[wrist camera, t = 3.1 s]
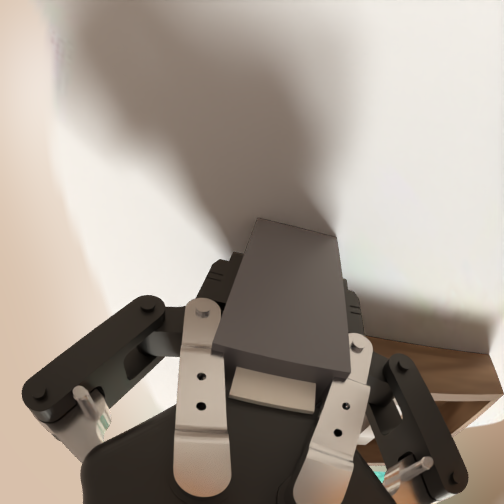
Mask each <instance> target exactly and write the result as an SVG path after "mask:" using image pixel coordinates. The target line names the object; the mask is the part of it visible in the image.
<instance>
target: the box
mask: <svg viewBox="0 0 504 504" xmlns="http://www.w3.org/2000/svg"><path fill="white" fill-rule="evenodd" d="M364 337H366V338H367V339H368V340H369V341H370V342H371V344H372V347H373V351H374V352H376V353H378V354H380V355H382V356H384V357H386V358H388V359H389V358H390V357H391V356H392V355H393V354H397V353H400V354H404V355H406V356H408V357H409V358H410V359H412V361H413V362H414V363H415V365H416V367H417V369H418V371H419V373H420V374H421V376H422V378H423V380H424V382H425V384H426V386H427V387H428V389H429V391H430V393H431V395H432V397H433V399H434V401H435V403H436V405H437V407H438V409H439V411H440V413H441V415H442V417H443V419H444V421H445V423H446V425H447V427H448V429H449V431H450V433H451V435H452V437H454V436H455V435H456V434H458V433H459V432H460V431H462V430H463V429H464V428H466V427H467V426H468V425H469V424H471V423H472V422H473V421H474V420H475V419H477V418H478V417H479V416H480V415H481V414H483V413H484V412H485V411H486V410H487V409H488V408H489V407H491V406H492V405H493V404H494V403H495V402H496V401H497V400H498V399H499V398H500V397H501V396H503V395H504V393H503V390H502V387H501V384H500V381H499V378H498V376H497V373H496V370H495V368H494V365H493V363H492V360H491V358H490V355H488V354H479V353H471V352H463V351H456V350H448V349H442V348H435V347H428V346H422V345H415V344H409V343H403V342H398V341H392V340H386V339H381V338H375V337H370V336H364ZM393 400H394V403H395V405H396V407H397V409H398V411H399V414H400V416H401V418H403V416H402V412H401V410H400V408H399V405H398V403H397V401H396V399H395V398H394V399H393ZM356 449H357V450H358V451H359V453H360V454H361V456H362V457H363V458H364V460H365V461H366V462H367V464H368V465H369V466H385V463H384V460H383V458H382V455H381V452H380V450H379V447H378V444H377V442H376V439H375V437H374V434H373V431H372V429H371V426H370V424H369V421H368V419H367V416H366V414H365V416H364V420H363V424H362V428H361V432H360V435H359V439H358V443H357V446H356Z"/></svg>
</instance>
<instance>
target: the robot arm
mask: <svg viewBox="0 0 504 504" xmlns="http://www.w3.org/2000/svg"><path fill="white" fill-rule="evenodd" d="M243 256H244V254H241V253H237V252H233V253H232V256H231V258H230V260H229V261H226V260H222V259H219V260H218V261H217V262H215V263H214V264H213V265H212V267H211V269H210V271H209V273H208V275H207V277H206V279H205V281H204V283H203V285H202V287H201V289H200V291H199V293H198V295H197V297H196V299H193V300H191V301H189V302H188V303H187V305H186V306H183V307H165V304H164V302H163V301H162V300H161V299H160V298H158V297H156V296H152V295H144V296H140V297H138V298H136V299H135V300H133V301H132V302H130V303H129V304H128V305H126V306H125V307H124V308H122V309H121V310H119V311H118V312H117V313H115V314H114V315H113V316H111V317H110V318H109V319H107V320H106V321H105V322H103V323H102V324H101V325H99V326H98V327H96V328H95V329H94V330H92V331H91V332H90V333H89V334H87V335H86V336H84V337H83V338H82V339H80V340H79V341H78V342H76V343H75V344H74V345H72V346H71V347H70V348H69V349H67V350H66V351H65V352H63V353H62V354H61V355H59V356H58V357H57V358H55V359H54V360H53V361H51V362H50V363H49V364H48V365H46V366H45V367H44V368H42V369H41V370H40V371H39V372H37V373H36V374H35V375H33V376H32V377H31V378H30V379H28V380H27V381H26V383H25V384H24V386H23V388H22V398H23V401H24V403H25V405H26V406H27V407H28V408H29V409H30V411H31V412H32V413H33V415H34V417H35V418H36V419H37V420H38V421H39V422H40V423H41V425H42V426H43V427H44V428H45V429H46V430H47V431H48V432H50V433H51V434H52V435H53V436H54V437H55V438H56V439H57V440H59V441H61V442H62V443H63V444H64V445H65V446H66V447H67V448H68V449H69V450H70V451H71V452H72V454H74V455H75V457H77V459H78V460H79V461H80V462H82V466H81V483H82V489H83V504H436V503H438V502H440V501H443V500H445V499H447V498H450V497H452V496H454V495H456V494H458V493H460V492H462V491H463V490H464V489H465V487H466V486H467V483H468V472H467V469H466V467H465V465H464V462H463V460H462V458H461V455H460V453H459V451H458V449H457V446H456V444H455V442H454V440H453V438H452V435H451V433H450V431H449V429H448V427H447V425H446V423H445V421H444V419H443V417H442V415H441V413H440V411H439V409H438V407H437V405H436V403H435V401H434V399H433V397H432V395H431V393H430V391H429V389H428V387H427V386H426V384H425V382H424V380H423V378H422V376H421V374H420V373H419V371H418V369H417V367H416V365H415V363H414V362H413V361H412V359H410V358H409V357H408V356H406V355H404V354H400V353H397V354H393V355H392V356H391V357H390V358H389V359H388V358H386V357H384V356H382V355H380V354H378V353H376V352H374V351H373V347H372V344H371V342H370V341H369V340H368V339H367V338H366V337H364V330H363V323H362V316H361V309H360V303H359V299H358V297H357V296H356V294H355V293H354V292H353V291H349V290H348V287H347V280H346V279H343V286H344V294H345V303H346V313H347V323H348V334H349V347H350V361H351V374H350V375H349V377H348V378H347V379H344V378H339V377H333V379H332V380H331V382H330V383H329V385H328V386H327V387H326V389H325V390H324V392H323V393H322V395H321V396H320V397H319V399H318V400H317V402H316V403H315V409H314V413H313V414H306V413H300V412H294V411H288V410H283V409H278V408H272V407H268V406H263V405H258V404H253V403H249V402H245V401H240V400H236V399H232V398H228V397H229V393H230V390H227V389H225V375H224V353H223V352H218V351H214V350H211V348H212V342H213V339H214V336H215V334H216V331H217V328H218V325H219V322H220V320H221V317H222V314H223V311H224V309H225V306H226V303H227V300H228V298H229V295H230V292H231V289H232V287H233V284H234V281H235V278H236V276H237V273H238V270H239V267H240V265H241V262H242V259H243ZM165 356H168V357H180V361H179V374H178V388H177V404H175V405H174V406H172V407H170V408H168V409H167V410H165V411H163V412H161V413H160V414H158V415H156V416H154V417H152V418H150V419H148V420H147V421H145V422H143V423H141V424H139V425H137V426H135V427H133V428H131V429H129V430H128V431H125V432H124V433H121V434H119V435H118V436H116V437H113V438H112V439H109V440H107V441H106V442H104V440H103V439H104V434H105V431H106V430H107V429H108V427H109V426H110V424H111V419H112V416H111V412H110V410H109V409H110V408H111V407H112V406H113V405H114V404H115V403H116V402H118V400H120V399H121V398H122V397H123V396H124V395H125V394H126V393H127V392H128V391H129V390H130V389H131V388H133V387H134V385H136V384H137V383H138V382H139V381H140V380H141V379H142V378H143V377H144V376H145V375H146V374H147V373H149V372H150V371H151V370H152V369H153V368H154V367H155V366H156V365H157V364H158V363H159V362H160V361H161V360H162V359H163V358H164V357H165ZM394 398H395V399H396V401H397V403H398V405H399V408H400V410H401V412H402V416H403V418H401V416H400V414H399V411H398V409H397V407H396V405H395V403H394V400H393V399H394ZM365 414H366V416H367V419H368V421H369V424H370V426H371V429H372V431H373V434H374V437H375V439H376V442H377V444H378V447H379V450H380V452H381V455H382V458H383V460H384V463H385V466H386V468H387V471H386V473H385V476H384V481H383V483H381V481H380V480H379V479H378V477H377V476H376V475H375V473H374V472H373V471H372V469H371V468H370V467H369V465H368V464H367V462H366V461H365V460H364V458H363V457H362V456H361V454H360V453H359V451H358V450H357V449H356V446H357V443H358V439H359V435H360V432H361V428H362V424H363V420H364V416H365Z"/></svg>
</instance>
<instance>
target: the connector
mask: <svg viewBox="0 0 504 504" xmlns="http://www.w3.org/2000/svg"><path fill="white" fill-rule="evenodd" d="M211 350H214V351H218V352H223V353H224V375H225V389H227V390H230V393H229V397H228V398H232V399H236V400H240V401H245V402H249V403H253V404H258V405H263V406H268V407H272V408H278V409H283V410H288V411H294V412H300V413H306V414H313V413H314V409H315V403H316V402H317V400H318V399H319V397H320V396H321V395H322V393H323V392H324V390H325V389H326V387H327V386H328V385H329V383H330V382H331V380H332V379H333V377H339V378H344V379H347V378H348V377H349V375H350V374H351V361H350V347H349V334H348V323H347V313H346V303H345V294H344V286H343V278H342V270H341V262H340V255H339V248H338V242H337V237H333V236H329V235H325V234H321V233H318V232H314V231H310V230H306V229H302V228H298V227H294V226H290V225H286V224H282V223H277V222H273V221H269V220H265V219H261V218H257V221H256V224H255V226H254V229H253V232H252V234H251V237H250V240H249V243H248V245H247V248H246V251H245V254H244V256H243V259H242V262H241V265H240V267H239V270H238V273H237V276H236V278H235V281H234V284H233V287H232V289H231V292H230V295H229V298H228V300H227V303H226V306H225V309H224V311H223V314H222V317H221V320H220V322H219V325H218V328H217V331H216V334H215V336H214V339H213V342H212V348H211Z"/></svg>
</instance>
